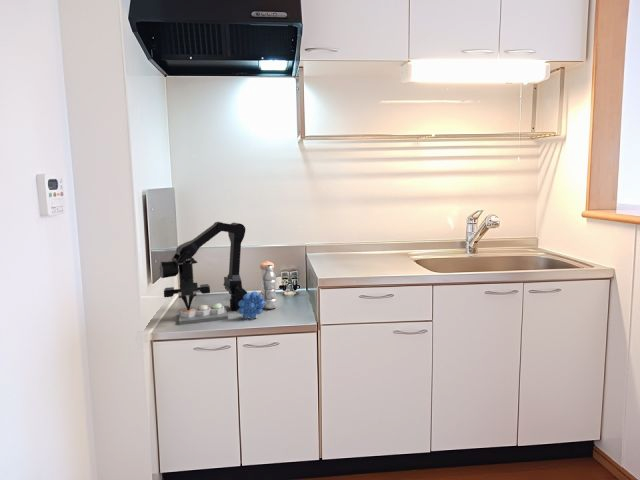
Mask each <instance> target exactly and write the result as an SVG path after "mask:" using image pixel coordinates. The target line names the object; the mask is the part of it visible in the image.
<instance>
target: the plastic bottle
mask: <svg viewBox="0 0 640 480" xmlns="http://www.w3.org/2000/svg"><path fill="white" fill-rule="evenodd" d="M276 275H277V274H276V273H275V272H274V268H273V265H265V272H264V274H263V276H262V275H261V280H262V279H263V285H264V301H265V306H264V307H263V308H264V309H266V310H267V309H269V310H271V309H272V310H273V309H275V308H277V305H278V299H277V293H276V285H277V276H276Z"/></svg>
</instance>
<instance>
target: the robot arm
mask: <svg viewBox="0 0 640 480" xmlns="http://www.w3.org/2000/svg"><path fill="white" fill-rule="evenodd" d="M221 232H225V233H228V239H229V242H230V250H229V267H228V268H229V270H228V275H226V276H224V277H223V286H224V288H225V291H227V292H228V293H229V295H230V298H229V309H231V311H232V312H233V311H238V309H239V308H240V306H239V305H238V303H239V301H240V300H244V299H243V296H244V295H245V294H248V291H247V290H246V289H244V288H243V283H242V279H241V275H240V269H241V268H240V266H241V265H240V264H241V252H242V251H241V249H242V242H243V241H244V238H245V234H246V227H245V225H244V224H242V223H238V222H231V223H224V222H221V221H215V222H214V223H213V224H212V225H211V226H209V227H208V228H207V229H205V230H204V231H202V232H201V233H200V234H199V235H197V236H196V237H194V238H193V239H191V240H188V241H186V242H183V243H182V244H179V245H178V246H177V247H176V250H175V253H174V255H173V257H172V258H171V260H166V261H164V260H163V261H160V265H159V269H160V272H159V276H160V278H161V279H165V278H171V277H176V276H177V275H178V280H179V288H176V289H175V287H173V286H171V287H165V288H164V289H163V297H164V298H171V297H173V296H174V295H178V298H179V299H182V302H183V303H184V304H185V307H186V308H185V309H187V310H190V308H191V305H192V302H193V299H194V297H197V292H200V293H201V294H204V295H205V294H210V293H211V288H210V287H211V286H210V284H209V283H206V284H205V283H204V284H199V285H198V282H194V268H193V267H194V266H193V265H194V264H197V263H198V261H197V260H195V258H194V256H195V255H196V253H197V252H198V250H199V249H200V248H201V247H202V246H203V245H205V244H206V243H207V242H208V243H209V241H210V240H212V239H213V238H214V237H215V236H217V235H218V234H219V233H221ZM187 296H188V297H187Z"/></svg>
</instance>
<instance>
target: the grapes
mask: <svg viewBox="0 0 640 480" xmlns="http://www.w3.org/2000/svg"><path fill="white" fill-rule="evenodd" d="M243 299H244V300H240V301H239V303H238V305H239V306H240V308H239V309H238V310H237V312H238V314H239V315H241V316H242V318H243V319H244V320H246V319H248V318H250V319H251V320H253V319H256V317H257V315H261V314H262V313H263V308H265V307H264V306H265V301H264V300H262V299H263V295H262V294H261V293H260V294H259V293H258V292H257V291H255V290H254V291H252V292H250V294H249V293H247V294H245V295H244V296H243Z"/></svg>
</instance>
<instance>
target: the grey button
mask: <svg viewBox="0 0 640 480" xmlns="http://www.w3.org/2000/svg"><path fill="white" fill-rule="evenodd" d="M208 307H209V306H208V305H207V304H200V305H198V306H197V308H198V311H205V310H208Z"/></svg>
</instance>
